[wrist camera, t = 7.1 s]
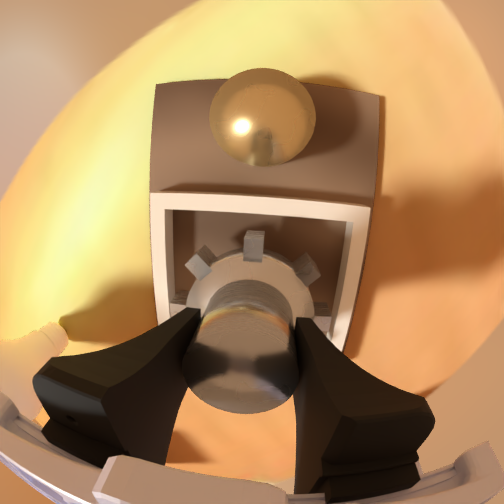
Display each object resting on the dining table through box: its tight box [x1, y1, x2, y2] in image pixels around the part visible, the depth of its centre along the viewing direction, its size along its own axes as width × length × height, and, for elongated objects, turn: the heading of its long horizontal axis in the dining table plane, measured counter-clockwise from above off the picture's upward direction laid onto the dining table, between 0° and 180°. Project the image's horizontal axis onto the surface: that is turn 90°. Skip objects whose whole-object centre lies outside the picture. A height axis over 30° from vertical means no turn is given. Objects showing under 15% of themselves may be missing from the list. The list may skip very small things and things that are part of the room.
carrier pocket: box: [150, 191, 371, 352], centre depth 15 cm, size 11×11×1 cm
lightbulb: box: [0, 322, 68, 421], centre depth 13 cm, size 6×6×11 cm
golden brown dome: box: [209, 68, 316, 167], centre depth 11 cm, size 4×4×2 cm
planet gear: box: [170, 230, 332, 414], centre depth 11 cm, size 8×8×6 cm
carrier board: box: [150, 79, 379, 353], centre depth 15 cm, size 18×12×1 cm
